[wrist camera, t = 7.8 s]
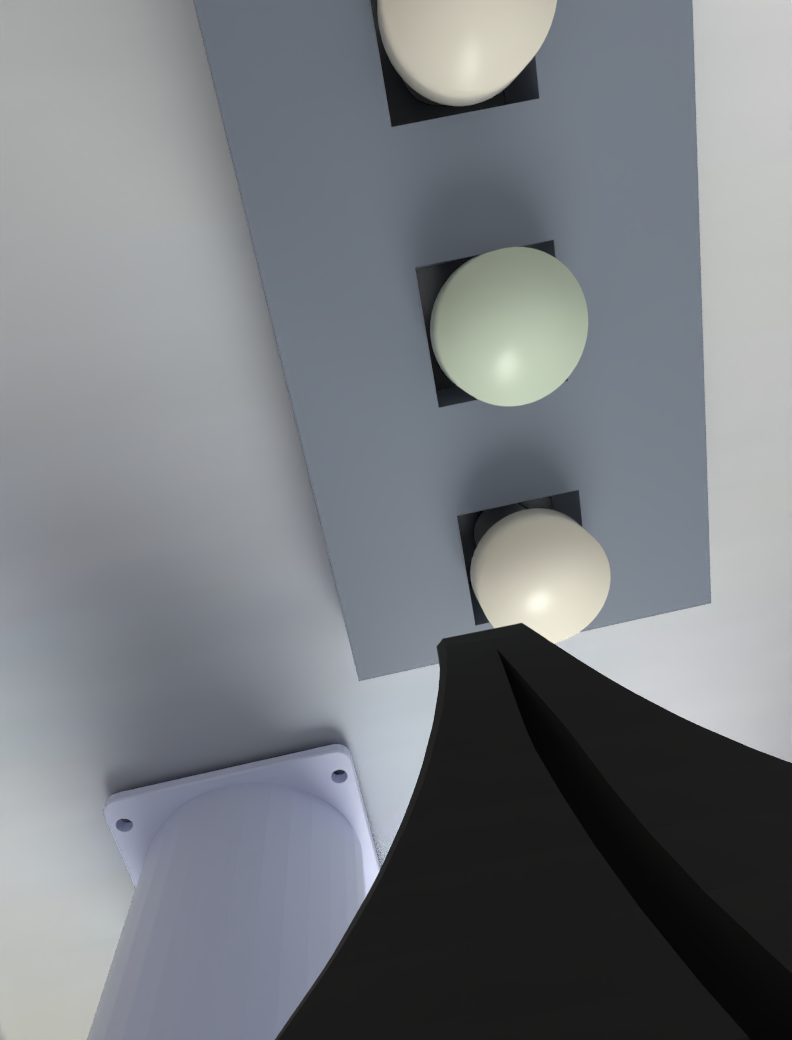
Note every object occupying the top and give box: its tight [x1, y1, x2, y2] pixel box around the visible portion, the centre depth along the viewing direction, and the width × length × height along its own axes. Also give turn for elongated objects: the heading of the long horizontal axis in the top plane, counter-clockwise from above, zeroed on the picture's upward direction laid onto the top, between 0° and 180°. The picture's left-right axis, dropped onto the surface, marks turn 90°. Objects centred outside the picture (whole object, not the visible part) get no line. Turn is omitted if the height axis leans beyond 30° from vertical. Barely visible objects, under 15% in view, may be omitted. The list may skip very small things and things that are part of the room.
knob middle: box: [430, 247, 588, 406], centre depth 16 cm, size 3×3×4 cm
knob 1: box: [377, 0, 557, 106], centre depth 14 cm, size 3×3×4 cm
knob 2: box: [470, 503, 611, 643], centre depth 18 cm, size 3×3×4 cm
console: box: [193, 0, 711, 681], centre depth 16 cm, size 20×10×3 cm, turn 11°
